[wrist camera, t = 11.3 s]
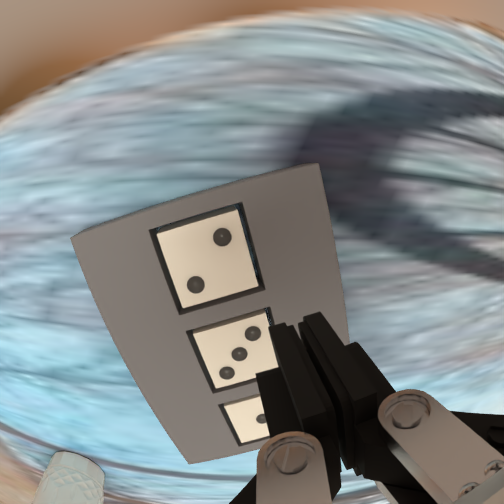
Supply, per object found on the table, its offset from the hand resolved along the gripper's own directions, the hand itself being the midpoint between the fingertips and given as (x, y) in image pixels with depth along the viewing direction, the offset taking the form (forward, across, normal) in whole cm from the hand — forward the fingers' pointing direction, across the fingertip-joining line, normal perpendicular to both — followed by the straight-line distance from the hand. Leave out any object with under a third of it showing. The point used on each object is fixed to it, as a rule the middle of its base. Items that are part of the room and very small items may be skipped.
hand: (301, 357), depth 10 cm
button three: (+13, +3, +6) cm, 14 cm away
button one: (+13, +3, +13) cm, 19 cm away
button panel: (+13, +3, +6) cm, 15 cm away
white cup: (+12, +26, +20) cm, 35 cm away
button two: (+13, +3, -1) cm, 13 cm away
